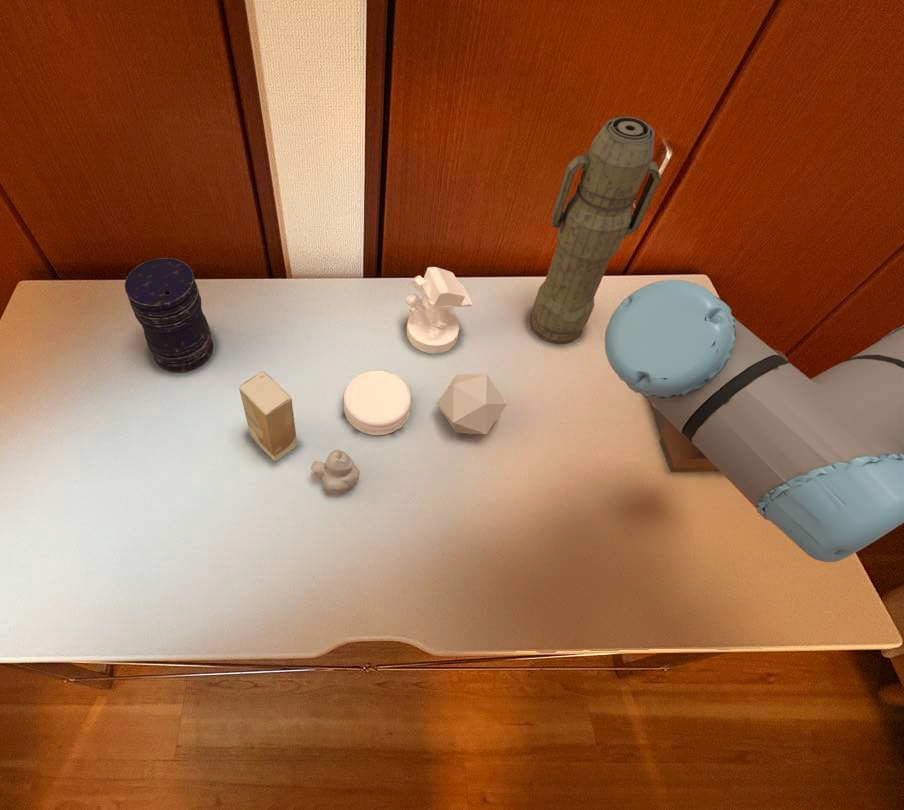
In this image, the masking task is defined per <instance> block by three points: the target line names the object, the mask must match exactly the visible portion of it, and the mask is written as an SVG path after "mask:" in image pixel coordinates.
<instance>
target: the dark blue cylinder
mask: <svg viewBox="0 0 904 810" xmlns="http://www.w3.org/2000/svg"><path fill="white" fill-rule="evenodd" d="M193 272H194V271H193V270H192V268H191V267H190V266H189V265H188V264H187V263H185V262H183V261H182V260H179V259H176V258H171V257H162V258H154V259H151V260H147V261H145V262H143V263H140V264H139V265H137V266H135V268H133V269H132V270H131V271H130V272H129V273H128V275H127V276H126V278H125V281H124V291H125V293H126V296H127V298H128V300H129V304H130V307H131V309H132V312H133V313H134V316H135V318H136V320H137V321H138V322H139V324H140V325H141V327H142V329H143V335H144V339H145V341H146V345H147V348H148V350H149V351H150V353H151V355H152V357H153V359H154V363H156V365H157V366H158V367H159V368H160V369H162V370H164V371H165V372H169V373H175V374H181V373H188V372H192V371H194V370H197V369H199V368H201V367H202V366H204V365H205V364H206V363H208V361H209V360H210V358H211V357H212V355H213V352H214V341H213V338H212V332H211V331H212V330H211V328H210V325H209V322H208V320H207V317H206V316H205V314H204V312H203V309H202V297H201V295H200V294H201V293H200V291H199V287H198V284H197V282H196V279H195V275H194V273H193Z"/></svg>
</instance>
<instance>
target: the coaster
mask: <svg viewBox="0 0 904 810" xmlns="http://www.w3.org/2000/svg"><path fill="white" fill-rule="evenodd" d="M411 408H412V394H411V389H410V388H409V386H408V385H407V383H406V382H405V381H404V380H403V379H402V378H401V377H400V376H398V375H396V374H395V373H392V372H389V371H386V370H378V369H377V370H369V371H365V372H362V373H360V374H358V375H356V376H355V377H353V378H352V379H351V380H350V381H349V383H348V384H347V385H346V387H345V389H344V393H343V413H344V415H345V417H346V419H347V421H348V423H350V425H351V426H352V427H354V428H355V429H356V430H357V431H359V432H361V433H364V434H366V435H371V436H385V435H389V434H391V433H394V432H396V431H398V430H400V429H401V428H402V427H403V426H404V425H405V423H406V422H407V421H408V418H409V417H410V414H411Z"/></svg>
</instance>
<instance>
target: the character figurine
mask: <svg viewBox="0 0 904 810" xmlns="http://www.w3.org/2000/svg"><path fill="white" fill-rule="evenodd" d="M410 283H411V284H412V285H414V286H413V288H414V289H416V290H417V291H418V292H419V293H421V294H422V298H421V299H420V298H419V296H418V294H415V293H413V294H409V296H407V298H406V300H405V302H406V304H407V306H409V307H408V311H409V313H410V315H409V317H408V319H407V323H406V337H407V339H408V342H409V343H410V344H411V345H412V346H413V347H414V348H415V349H417V350H419V351H420V352H423V353H428V354H436V355H437V354H443V353H445V352H447V351H450V350H451V349H452V348H453V347H454V346H455V345H456V343H457V341H458V337H459V332H460V324H459V321H458V319H457V317H456V315H454V314H453V308H455V307H457V308H458V307H462V308H463V307H466V308H467V307H468V308H469V307H472V306H473V302H472V299H471V298H470V295H469V294H468V292H467V290H466V288H465V287H464V285H463V283H459V281H458V278H457V277H456V276H455V273H453V271H450V270H447V269H444V268H440V267H436V266H428V267H427V268H426V270H425V274H424V276H423V277H422V276H421V275H416V276H415V277H413V279H412V280H410Z"/></svg>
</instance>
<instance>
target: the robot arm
mask: <svg viewBox="0 0 904 810" xmlns="http://www.w3.org/2000/svg"><path fill="white" fill-rule="evenodd" d="M772 349H773V348H771V347H770V346H769V345H767V344H766V343H765V342H764V341H763V340H762V339H760V338H759V337H758V336H757V335H755V334H754V333H753V332H752V331H751V330H749V328H747V327H746V326H745V325H744V324H742V323H741V322H740V321H739V320H737V319H736V318H735V317H734V316H733V313H732V308H731V307H730V306H729V304H727V303H725V302H724V301H723V300H722V299H721V298H720V297H718V296H717V295H716V294H714V292H712V291H710V290H709V289H708V288H706V287H705V286H702V285H700V284H698V283H695V282H692V281H688V280H684V279H683V280H682V279H667V280H659V281H655V282H652V283H649V284H646V285H644V286H642V287H640V288H638V289H636V290H635V291H633V292H632V293H631V294H629V295H627V297H625V298H623V299H622V301H621V302H620V303H619V305H617V307H616V308H615V309H614V311H613V312H612V314H611V316H610V319H609V321H608V322H607V325H606V329H605V335H604V351H605V356H606V359H607V362H608V363H609V365H610V367H611V368H612V370H613V372H614V373H615V374H616V375H617V377H618V378H619V379H620V380H621V381H622V382H624V383H625V384H626V386H627V387H628V388H629V389H630V390H631V391H632V392H634V393H635V394H638V393H639V394H641V395H642V396H643V397H644V398H645V399H646V400H648V402H649V403H651V404H652V406H653V407H655V408H657V409H658V410H659V411H660V412H661V413H662V414H663V415H664V416H665V417H666V418H667V419H668V420H669V421H670V422H671V423H672V424H673V425H674V426H675V427H676V428H677V429H678V430H679V431H680V432H681V434H683V435H685V436H686V437H687V438H688V439H689V440H690V441H691V442H692V443H693V444H694V445H695V446H696V447H697V448H698V449H699V450H700V451H701V452H702V453H703V454H704V455H705V456H706V457H707V458H708V459H709V460H710V462H711V463H712V464H713V465H714V466H715V467H716V468H717V469H718V470H719V471H718V472H720V473H721V474H722V475H723V476H724V477H725V479H727V480H728V481H729V482H730V483H731V484H732V485H733V486H734V487H735V489H736V490H738V491H739V492H740V493H741V494H742V496H743V497H744V498H745V499H747V501H748V502H749V503H750V504H751V505H752V506H753V507H754V508H755V509H756V512H757V513H758V514H759V515H760V516H761V517H762V518H763V519H764V520H766V521H769V522H771V523H772V524H773V525H774V526H775V527H776V528H777V529H778V530H780V532H782V533H783V534H784V535H785V536H786V537H787V538H789V539H790V540H791V541H792V543H794V544H795V545H796V546H797V547H798V548H799V549H801V550H802V551H803V552H804V553H805V554H806V555H807V556H808V557H810V558H812V559H814V560H816V561H819V562H824V563H835V562H836V563H837V562H840V561H842V560H845V559H846V558H849V557H851V556H852V555H854V554H856V553H857V552H859V551H861V550H862V549H864V548H866V547H868V546H870V545H871V544H872V543H874V542H876V541H877V540H879V539H881V538H882V537H884V536H886V535H887V534H888V533H890V532H891V531H893V530H894V529H896V528H898V527H899V526H901V525H903V524H904V324H903V325H902V326H900V327H898V328H895V329H893V330H891V332H889V333H888V334H886V335H884V336H883V337H882V338H881V339H880V340H879V341H877V342H875V343H874V344H872V345H870V346H869V347H867V348H865V349H864V350H862V351H860V352H858V353H856V354H855V355H854V356H853V355H852V357H850V358H848V359H845V360H843V361H841V362H840V363H838V364H836V365H833V366H832V367H830V368H827V369H826V370H825V371H822V372H821V373H819V374H817V375H816V376H814V377H812V378H809V377H808V376H807V375H806V374H804V373H803V372H801V371H800V370H799V369H798V368H797V367H796V366H795V365H793V364H792V363H790V362H789V360H788V361H786V360H785V359H784V358H783V357H781V356H780V355H778V354H777V353H776V352H775V351H774V350H775V349H774V350H772ZM651 404H650V405H651Z"/></svg>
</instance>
